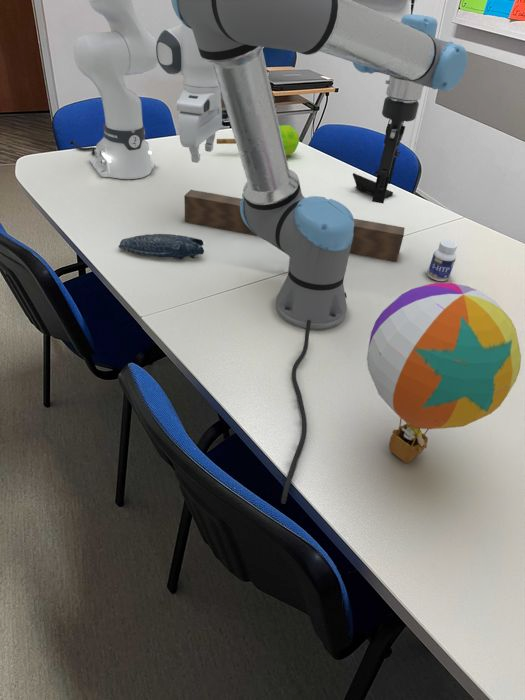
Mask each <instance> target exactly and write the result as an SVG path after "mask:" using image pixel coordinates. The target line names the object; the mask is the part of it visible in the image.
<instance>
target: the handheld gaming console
mask: <svg viewBox="0 0 525 700" xmlns="http://www.w3.org/2000/svg"><path fill="white" fill-rule="evenodd" d="M352 177H353V180H354V183H355V188H356V189H358V190H361V191H363V192H365V193H368V194H370V195H372V196H373V194H374V189H375V184H376V181H374V180H371V179H369V178H367V177H364V176H362V175H360V174H357V173H355V172H353V173H352ZM393 195H394V191H391V190H389V189H387V190H386V194H385V198H389V197H391V196H393Z"/></svg>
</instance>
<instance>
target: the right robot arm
mask: <svg viewBox="0 0 525 700" xmlns="http://www.w3.org/2000/svg"><path fill="white" fill-rule="evenodd" d="M170 1H171V5H172V9H173V11H174V13H175V14H176V16H177V18H178V19H179V20H180V22H181V23H183V24H184V25H185V26H187V27H188V28H190V29H192V30H193V34H194V37H195V40H196V43H197V46H198V49H199V53H200V56H201V58H202V59H204V60H205V61H207V62H209V63H211V64H212V65H213V67H214V70H215V73H216V77H217V80H218V84H219V87H220V90H221V98H222V101H223V104H224V107H225V111H226V114H227V117H228V122H229V124H230V127H231V131H232V133H233V134H232V135H233V139H235V141H236V149H237V151H238V154H239V157H240V162H241V164H242V167H243V170H244V174H245V178H246V182H245V183H244V186H243V189H242V195H241V197H242V199H243V200H242V201H241V202H240V213H241V217H242V219H243V221H244V223H245V224H246V226H247V227H248V228H249V229H250V230H251V231H252V232H253V233H254V234H256V235H257V236H256V235H255V236H256V237H259V238H262V239H263V240H265V241H266V242H268V243H269V244H271V245H272V246H273V247H275V248H276V249H278V250H280V251H281V252H283V253H284V254H285V255H287V256H288V257H289V262H288V263H289V264H288V270H287V271H288V272H287V275H286V278H285V279H284V282H283V283H282V285H281V287H280V290H279V291H278V294H277V296H276V300H275V311H276V313H277V315H278V316H279V317H280V318H281V319H282V320H283V321H284V322H286V323H287V324H289V325H291V326H293V327H296V328H300V329H304V330H305V331H304V342H303V348H302V351H301V353H300V354H299V356H298V357H297V359H296V360H295V362H294V363H293V366H292V368H291V381H292V385H293V388H294V391H295V394H296V397H297V402H298V403H297V404H298V408H299V413H300V417H301V433H300V439H299V441H298V445H297V447H296V449H295V452H294V454H293V456H292V457H293V458H292V460H291V463H290V466H289V469H288V472H287V475H286V479H285V482H284V485H283V489H282V493H281V499H280V503H281V505H285V504H286V503H287V500H288V496H289V492H290V487H291V483H292V481H293V477H294V474H295V471H296V468H297V465H298V461H299V458H300V456H301V453H302V451H303V449H304V445H305V443H306V437H307V432H308V431H307V430H308V424H307V423H308V422H307V415H306V409H305V406H304V401H303V396H302V391H301V389H300V386H299V384H298V380H297V369H298V367H299V365H300V363H301V362H302V361H303V359H304V358H305V356H306V354H307V352H308V347H309V340H310V339H309V338H310V331H324V330H325V331H326V330H329V329H333V328H336V327H337V326H339V325H340V324H342V323H343V322H344V320H345V318H346V315H347V310H348V307H347V306H348V305H347V299H348V298H347V296H348V295H347V292H345V286H344V280H345V275H346V272H347V267H348V262H349V257H350V254H351V253H350V248H351V244H352V241H353V230H354V219H355V217H354V216H353V213H352V212H351V211H350V209H349V208H348V207H347V206H346V205H344V204H343V203H341V202H339V201H337V200H335V199H333V198H326V197H325V196H318V195H317V196H316V195H314V196H313V195H311V196H307V197H305V196H304V194H303V193H302V188H301V184H300V179H299V176H298V174H297V173H296V172H295V171H293V170H292V169H290V168H289V163H288V159H287V156H286V154H285V150H284V145H283V141H282V136H281V132H280V127H279V125H280V124H279V118H278V113H277V109H276V105H275V100H274V95H273V91H272V86H271V82H270V78H269V77H270V76H269V74H268V68H267V64H266V58H265V53H264V50H263V49H264V48H269V49H278V50H284V51H291V52H295V53H299V54H302V55H305V56H311V55H312V56H313V55H315V54H317V53H318V52H320V53H323V54H327V55H329V56H332V57H336V58H339V59H342V60H345V61H349V62H352V65H353V67H354V68H355V69H356V70H357V71H358V72H360V73H364V74H365V73H368V74H369V75H370V74H374V73H379V74H382V75H387V76H389V78H386V80H385V84H386V85H388V86H387V88H386V92H385V95H386V97H385V98H384V101H383V106H382V111H381V115H382V117H384V118H386V119H388V120H390V121H391V122H390V123H388V124H387V126H386V129H385V133H384V135H385V137H384V141H383V150H382V155H381V158H380V162H379V167H378V170H375V171H374V175H375V176H376V180H375V182H376V184H375V189H374V194H373V195H372V198H371V202H372V203H377V204H384V202H385V198H386V197H385V194H386V190H388V185H391V182H392V178H393V173H394V169H395V166H396V160H397V158H399V157H400V154H401V152H400V151H399V146H400V143H401V141H402V139H403V136H404V134H405V130H406V126H405V125H404V123H405V122H413V121H414V120H416V118H417V114H418V109H419V105H420V102H419V100H421V97H422V94H423V90H424V87H427V88H431V89H432V90H439V91H442V92H443V91H444V92H447V91H451V90H452V89H454V88H455V87H456V86H457V85H458V84H459V83H460V82H461V80H462V79H463V77H464V74H465V71H466V69H467V65H468V53H467V50H466V48H465V47H464V46H463V45H461V44H457V43H454V42H453V41H445V40H442V39H439V38H437V37H436V35H437V30H438V21H437V19H436V18H435V17H433V16H429V15H424V14H423V15H421V14H405V15H403V16H402V17H401V19H400V21H398V20H396V19H394V18H392V17H390V16H388V15H385V14H383V13H381V12H379V11H376V10H375V9H372V8H370V7H368V6H366V5H363V4H361V3H359V2H356V1H353V0H170Z"/></svg>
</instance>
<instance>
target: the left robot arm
mask: <svg viewBox="0 0 525 700" xmlns="http://www.w3.org/2000/svg"><path fill="white" fill-rule="evenodd" d="M88 2H89V5H90V7H91V8H92V9H93V10H94V11H95V12H96V13H98V14H100V15H101V16H103V17H104V19H105V20H106V22H107V23H108V26H109V28H110V29H109V30H110V31H101V32H100V31H99V32H98V31H97V32H96V31H95V32H90V33H88V34H85V35H81V36H79V37H78V38H77V39H76V40H75V42H74V45H73V59H74V62H75V64H76V66H77V68H78V70H79V71H80V72H81V74H83V75H84V76H85V77H87V78H88V79H89V80H90V81H91V82H92V83H93V84H94V86H95V87H96V89H97V90H98V93H99V95H100V98H101V102H102V108H103V114H104V122H105V123H103V137H102V138H101V139H100V141H98V142H97V144H96V145H95V146H91V147H81V146H79V145H78V144H77V143H76V141H75V140H71V141H70V143H69V144H70V145H74V147H75V148H76V149H78V150H80V151H91V154H92V155H94V156H93V157H91V158H90V159H89V161H90V164H91V165H92V166H93V168H94V169H95V170H96V172H97V173H98V174H99V176H100V177H102V178H114V179H120V180H136V179H137V180H138V179H142V178H145V177H148V176H149V175H150V174H152V171H153V169H155V168H156V166H155V163H153V162H152V159H151V158H152V157H151V155H152V151H150V144H149V142H148V141H147V140H146V139H145V138H146V129H145V125H144V123H143V108H142V100H141V98H140V97H139V96H138V94H137V93H136V92H134V91H133V90H131V89H129V88H128V87H127V84H126V82H125V76H132V75H140V74H145V73H146V72H149V71H151V70H153V69H155V68H156V67H157V65H158V64H159V66H160V67H161V68H162V70H163V71H164V72H165V73H167V74H168V75H173V76H183V81H182V90H181V93H180V96H179V97H178V99H177V101H176V111H177V112H179V114H178V133H179V135H178V136H179V140H180V141H179V142H180V144H181V146H182V147H183V148H187V149H188V150H189V153H190V155H191V162H192V163H195V164H198V163H199V162H200V161H201V154H200V151H199V149H200V145H202V143H204V142H205V144H204V150H205V152H209V153H210V152H212V151H214V143H215V138H216V133H217V132H218V131H220V130H221V128H222V126H223V108H222V94H221V90H220V87H219V84H218V80H217V77H216V73H215V70H214V67H213V65H212V64H211V63H209V62H207V61H205V60H204V59H202V58H201V56H200V53H199V49H198V46H197V43H196V40H195V37H194V34H193V30H192V29H190V28H188V27H187V26H185V25H184V24H183V22H181V23H180V24H179V25H177V26H174V27H171V28H167V29H163V31H162V32H161V33H160V34H159V36H158V38H157V40H156V39H155V37H154V36H153V34H151V33H150V32H149V31H148V30H147V29H146V28H145V27H144V26H143V24H142V23H141V21H140V19H139V17H138V15H137V13H136V10H135V7H134V4H133V0H88Z"/></svg>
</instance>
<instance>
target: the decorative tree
mask: <svg viewBox="0 0 525 700" xmlns="http://www.w3.org/2000/svg"><path fill="white" fill-rule="evenodd" d="M279 127H280V132H281V136H282V141H283V145H284V150H285V154H286V157H288V156H290V155H291V154H294V153H295V151H296V150H297V148H298V145H299V143H300V137H299V132H298V131H297V130H296V129H294V128H293V127H292V125H287V124H285V125H283V124H281V125H280V124H279ZM216 144H217V145H229V144H230V145H232V144H233V145H234V144H236V141H235V138H216ZM236 145H237V144H236Z"/></svg>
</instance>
